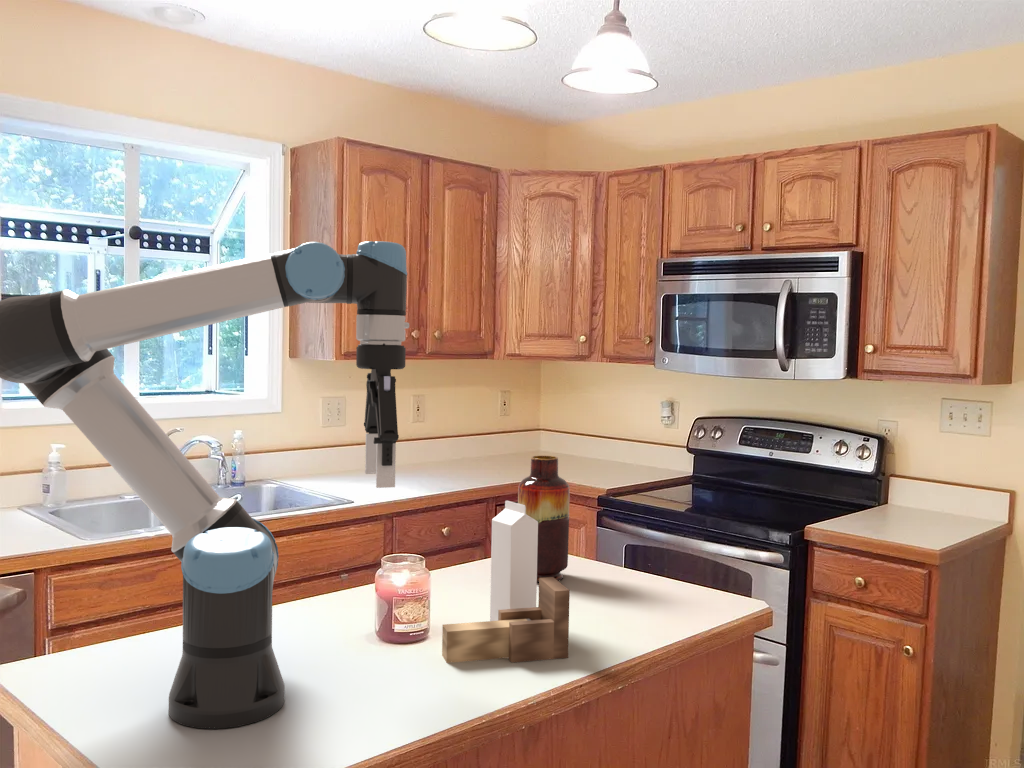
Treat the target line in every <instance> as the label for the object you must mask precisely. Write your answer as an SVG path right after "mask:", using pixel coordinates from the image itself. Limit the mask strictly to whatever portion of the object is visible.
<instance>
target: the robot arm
mask: <svg viewBox="0 0 1024 768" xmlns="http://www.w3.org/2000/svg"><path fill="white" fill-rule="evenodd" d="M407 285H408V270H407V251H406V248H405V247H404V246H403V245H402V244H400V243H398V242H392V241H380V240H379V241H378V240H377V241H373V240H370V241H368V240H367V241H362V242H360V243H359V244H358V246H357V250H356V253H352V254H343V253H342V254H339V253H338V252H337V251H336V250H335V249H334V248H333V247H331V246H330V245H328V244H327V243H324V242H318V241H309V242H305V243H301V244H299V245H297V246H296V247H293V248H290V249H289V248H288V249H284V250H280V251H277V252H274V253H266V254H262V255H256V256H251V257H248V258H243V259H239V260H238V259H237V260H233V261H230V262H225V263H221V264H215V265H212V266H207V267H202V268H197V269H193V270H187V271H184V272H179V273H175V274H169V275H165V276H161V277H156V278H152V279H147V280H142V281H137V282H133V283H128V284H124V285H119V286H114V287H110V288H106V289H101V290H97V291H91V292H87V293H82V294H76V293H75V292H73V291H71V290H69V289H63V290H58V291H54V292H48V293H43V294H35V295H22V296H10V297H8V298H5V299H2V300H0V379H2V380H4V381H7V382H11V383H16V384H23V385H24V386H26V388H27V389H28V390H29V392H30V393H32V394H33V396H34V397H35V398H36V399H37V400H38V402H40V404H41V405H42V406H43V407H44V408H48V409H49V408H50V409H51V408H52V409H59V410H61V411H63V412H64V413H65V414H66V416H67V417H68V418H69V419H70V420H71V422H72V423H73V424H74V425H75V426H76V427H77V429H79V431H80V432H81V433H82V434H83V436H85V438H86V439H88V441H89V442H90V443H91V445H92V446H94V448H95V449H96V450H97V451H98V452H99V453H100V455H101V456H102V457H103V458H104V459H105V460H106V461H107V462H108V463H109V466H111V467H112V468H113V470H114V471H116V473H117V474H118V475H119V477H121V478H122V480H123V481H124V482H125V483H126V484H127V485H128V486H129V488H130V489H131V490H132V491H133V492H134V493H135V495H137V497H138V498H139V499H140V500H141V501H142V502H143V504H145V506H146V507H147V508H148V509H149V510H150V511H151V513H153V514H154V516H155V517H156V519H157V520H159V522H160V523H161V525H163V526H164V527H165V528H166V529H167V531H168V532H169V533H170V534H171V536H172V540H171V541H172V542H171V551H170V552H172V553H173V554H174V555H175V557H176V558H177V559H178V560H179V561H180V562H181V564H180V567H181V572H182V655H181V657H180V661H179V664H178V667H177V670H176V673H175V674H174V675H175V676H174V678H173V679H174V680H173V683H172V684H171V688H170V691H169V693H168V715H169V717H170V719H172V720H173V721H175V722H176V723H178V724H179V725H183V726H186V727H190V728H197V729H210V730H211V729H227V728H228V729H229V728H235V727H241V726H245V725H248V724H249V725H250V724H252V723H255V722H260V721H261V720H265V719H266V718H268V717H270V716H272V715H274V714H276V713H277V712H278V711H279V710H280V709H281V708H283V706H284V704H285V699H286V698H285V695H286V694H285V693H286V692H285V683H284V682H285V681H284V678H283V675H282V673H281V669H280V667H279V665H278V661H277V659H276V655H275V652H274V649H273V588H274V580H275V578H276V577H275V576H276V573H277V570H278V567H279V566H278V565H279V556H280V555H279V549H278V544H277V542H276V539H275V537H274V535H273V534H272V532H271V531H270V529H269V528H268V526H267V525H264V524H263V523H262V522H260V521H259V520H257V519H255V518H254V517H252V516H251V515H250V514H249V513H248V512H247V511H246V509H245V508H244V507H243V506H242V505H241V504H240V502H239V501H238V500H237V499H236V498H229V497H222V496H220V495H219V494H218V493H217V492H216V491H215V489H214V488H213V487H212V486H211V484H209V482H208V481H207V480H206V479H205V477H204V476H203V475H202V474H201V473H200V472H199V471H198V470H197V469H196V467H195V466H194V464H193V463H191V461H190V460H189V459H188V458H187V457H186V455H185V454H184V453H183V452H182V450H180V448H178V446H177V445H176V444H175V443H174V442H173V440H172V439H171V438H169V436H168V435H167V433H166V432H165V431H164V430H163V429H162V427H160V425H159V423H157V422H156V421H155V420H154V418H153V417H152V416H151V415H150V414H149V412H148V411H147V410H146V409H145V408H144V407H143V405H142V404H141V403H140V402H139V401H138V400H137V398H136V397H134V395H133V394H132V393H131V391H130V390H129V389H128V388H127V387H126V386H125V385H124V383H123V382H122V381H121V380H120V379H119V377H118V376H117V375H116V374H115V372H114V367H115V359H116V357H114V355H113V354H112V352H111V351H110V350H109V349H111V348H112V349H113V348H117V347H121V346H125V345H129V344H132V343H138V342H142V341H145V340H151V339H155V338H159V337H163V336H168V335H171V334H172V335H173V334H176V333H180V332H181V333H182V332H184V331H188V330H193V329H197V328H202V327H206V326H210V325H211V326H212V325H215V324H219V323H223V322H228V321H231V320H235V319H240V318H241V319H242V318H244V317H247V316H248V317H250V316H252V315H257V314H261V313H265V312H269V311H274V310H275V311H276V310H278V309H283V308H286V307H292V306H298V305H300V304H301V305H302V304H308V303H309V304H346V305H347V304H348V305H351V304H353V305H354V304H356V308H357V309H356V322H355V323H356V324H355V325H356V328H355V330H356V331H355V332H356V333H355V334H356V335H355V337H356V340H357V341H359V344H357V346H356V354H355V356H356V359H355V360H356V362H355V363H356V364H355V365H356V367H357V368H358V369H362V370H363V369H364V370H371V372H367V374H366V379H367V380H366V383H365V385H366V396H365V397H366V399H365V410H364V411H365V412H364V423H363V426H364V431H365V449H364V450H365V456H364V458H365V461H364V462H365V464H364V469H365V470H364V473H365V475H376V477H375V480H376V481H375V487H376V489H377V488H378V489H380V488H385V489H386V488H387V489H388V488H395V487H396V455H397V454H396V453H397V452H396V451H397V450H396V449H397V448H396V445H397V441H398V440H399V435H400V434H399V430H398V428H399V427H398V413H397V412H398V411H397V397H396V396H397V395H396V383H397V379H396V376H394V375H393V376H392V374H391V373H392V370H403V369H404V368H406V358H407V357H406V355H407V354H406V353H407V352H406V351H407V349H406V348H407V347H405V345H402V342H405V341H406V332H407V331H406V329H409V328H410V323H409V322H406V315H407Z"/></svg>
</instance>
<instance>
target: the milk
mask: <svg viewBox="0 0 1024 768" xmlns="http://www.w3.org/2000/svg"><path fill="white" fill-rule="evenodd" d="M537 547H538V521H536V520H535V519H533V518H531V517H530V516H528V515H526V507H525V505H522V504H518V502H514V501H510V500H505V501H504V508H503V510H501V511H500V512H499V513H497V514H496V516H494V517H493V518H492V519H491V548H490V549H491V550H490V551H491V554H490V594H489V595H490V597H489V599H490V600H489V601H490V602H489V605H490V606H489V607H490V608H489V609H490V610H489V611H490V612H489V621H498V610H503V609H517V608H532V607H537V585H538V583H537Z"/></svg>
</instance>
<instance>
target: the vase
mask: <svg viewBox="0 0 1024 768" xmlns="http://www.w3.org/2000/svg"><path fill="white" fill-rule="evenodd" d="M570 493H571V492H570V485H569V483H568V482H567V480H566V479H564V478H562V477H560V476H559V457H558V456H554V455H533V456H531V458H530V473H529V475H528V476H526V477H525V478H522V480H521V481H520V482H519V484H518V488H517V503H518V504H522V505H525V507H526V515H528V516H530V517H531V518H533V519H535V520H536V521H538V547H537V582H539V578H544V577H554V578H555V579H556V580H557V581H559V580H561V579H562V578H564V575H563V574H562V572H563V571H564V570H566V569H567V568H568V564H569V561H568V560H569V539H570V538H569V537H570V535H569V533H570V532H569V531H570ZM562 580H563V579H562ZM562 580H561V581H562ZM559 582H560V581H559Z"/></svg>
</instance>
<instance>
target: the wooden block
mask: <svg viewBox="0 0 1024 768" xmlns="http://www.w3.org/2000/svg"><path fill="white" fill-rule="evenodd" d="M517 621H531V620H530V619H529V618H528V619H514V620H500V621H490V620H489V621H487V620H486V621H473V622H464V623H463V622H461V623H446V624H445V623H444V624H442V632H441V633H442V634H441V635H442V640H441V642H442V643H441V645H442V646H441V656H442V657H443V659H444V662H446V663H447V664H449V663H450V664H451V663H462V662H473V661H483V660H495V659H497V660H498V659H509V622H517Z"/></svg>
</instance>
